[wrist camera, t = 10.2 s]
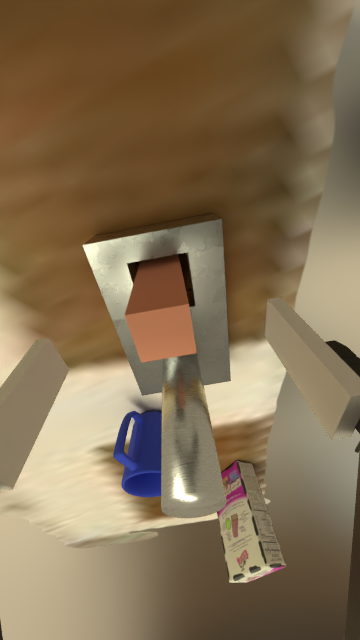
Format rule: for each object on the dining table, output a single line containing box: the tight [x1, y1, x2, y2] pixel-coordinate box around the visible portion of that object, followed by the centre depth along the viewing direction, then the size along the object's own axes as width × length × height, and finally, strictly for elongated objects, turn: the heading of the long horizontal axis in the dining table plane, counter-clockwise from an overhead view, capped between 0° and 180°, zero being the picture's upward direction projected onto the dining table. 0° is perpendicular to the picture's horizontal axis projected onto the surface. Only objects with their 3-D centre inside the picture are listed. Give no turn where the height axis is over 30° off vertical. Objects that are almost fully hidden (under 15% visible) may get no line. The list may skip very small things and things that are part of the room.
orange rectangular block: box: [124, 254, 197, 363], centre depth 19 cm, size 4×4×12 cm
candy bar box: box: [217, 461, 286, 583], centre depth 45 cm, size 11×5×16 cm, turn 153°
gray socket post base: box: [83, 213, 231, 518], centre depth 19 cm, size 20×12×18 cm, turn 9°
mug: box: [114, 411, 162, 497], centre depth 34 cm, size 8×12×10 cm
